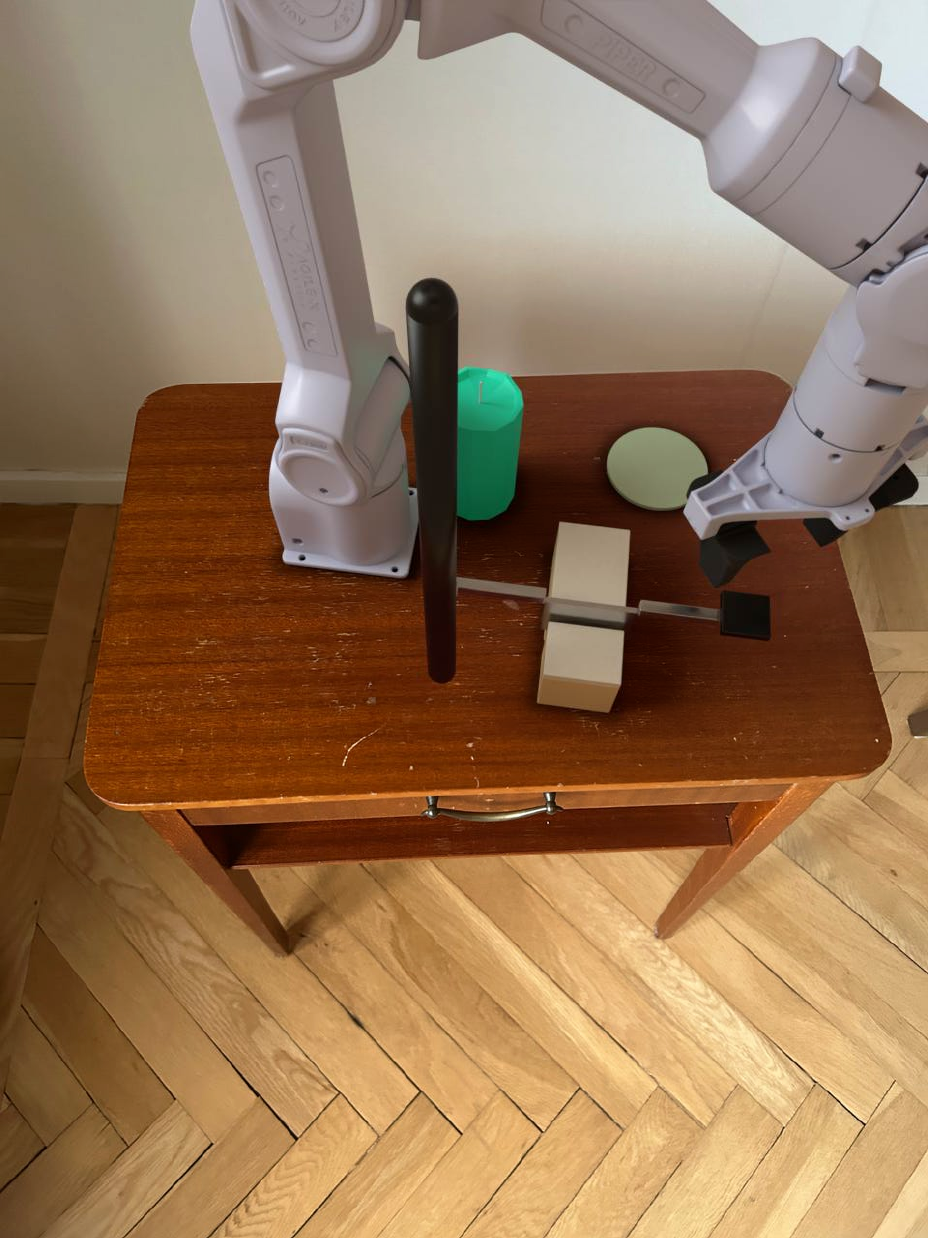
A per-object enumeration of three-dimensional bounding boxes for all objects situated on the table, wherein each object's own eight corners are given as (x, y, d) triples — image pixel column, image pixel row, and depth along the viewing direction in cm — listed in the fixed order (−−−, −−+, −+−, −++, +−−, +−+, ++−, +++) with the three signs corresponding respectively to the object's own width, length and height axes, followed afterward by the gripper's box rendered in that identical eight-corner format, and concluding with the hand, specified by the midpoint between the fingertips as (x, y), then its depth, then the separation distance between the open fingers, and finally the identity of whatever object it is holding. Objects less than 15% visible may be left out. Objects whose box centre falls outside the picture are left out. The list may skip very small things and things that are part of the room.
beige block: (536, 703, 61) (543, 674, 56) (542, 653, 62) (549, 620, 58) (608, 713, 60) (621, 684, 56) (612, 662, 62) (624, 630, 58)
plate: (603, 504, 68) (604, 501, 68) (609, 425, 72) (610, 421, 72) (706, 516, 68) (707, 513, 68) (707, 436, 72) (708, 433, 71)
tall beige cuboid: (543, 640, 63) (550, 607, 58) (552, 558, 66) (559, 521, 62) (613, 649, 63) (625, 617, 58) (618, 566, 66) (630, 529, 61)
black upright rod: (426, 692, 58) (399, 301, 29) (443, 595, 61) (434, 156, 32) (746, 735, 57) (1058, 372, 27) (745, 633, 60) (1021, 215, 31)
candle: (507, 526, 67) (517, 423, 57) (431, 513, 68) (427, 408, 57) (520, 465, 70) (532, 356, 59) (447, 453, 71) (446, 342, 60)
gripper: (769, 517, 40) (695, 647, 52) (1024, 420, 42) (898, 565, 54) (691, 405, 43) (638, 553, 55) (934, 322, 45) (833, 480, 57)
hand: (764, 553), depth 55 cm, fingers open, 7 cm apart
